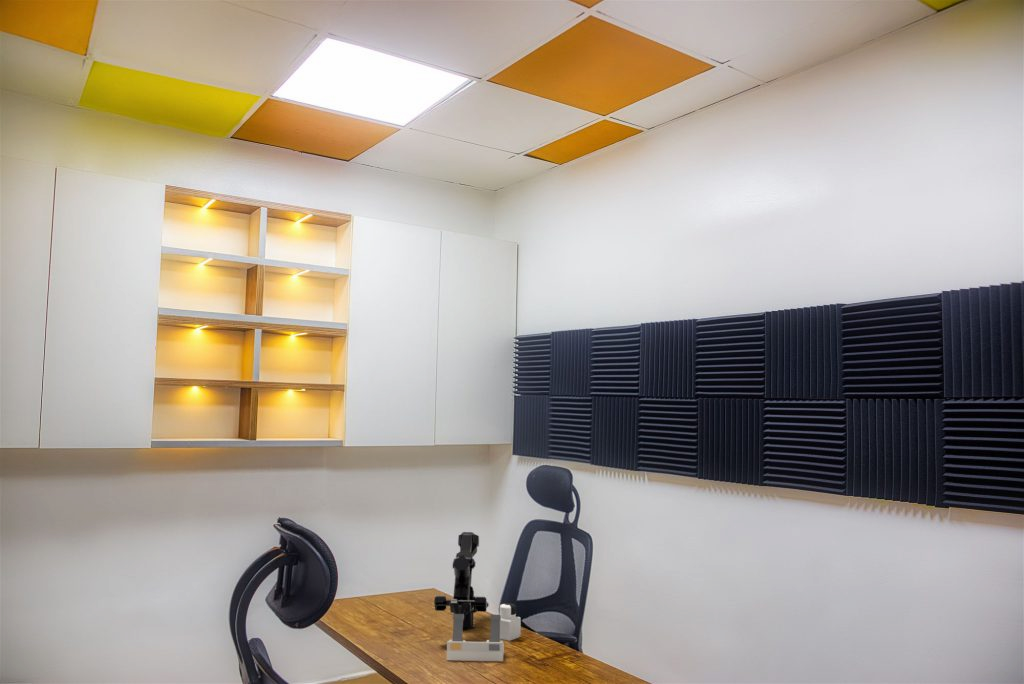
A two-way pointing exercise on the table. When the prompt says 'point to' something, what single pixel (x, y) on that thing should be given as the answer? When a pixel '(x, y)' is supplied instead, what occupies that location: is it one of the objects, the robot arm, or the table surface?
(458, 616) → the lever
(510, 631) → the medicine bottle
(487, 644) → the switch box
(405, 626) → the table surface
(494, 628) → the lever
